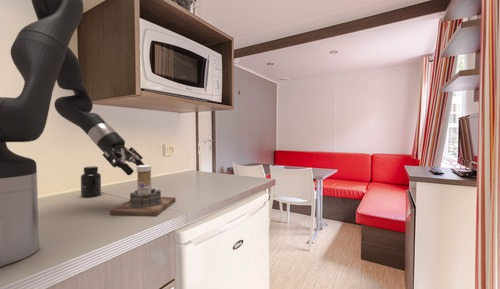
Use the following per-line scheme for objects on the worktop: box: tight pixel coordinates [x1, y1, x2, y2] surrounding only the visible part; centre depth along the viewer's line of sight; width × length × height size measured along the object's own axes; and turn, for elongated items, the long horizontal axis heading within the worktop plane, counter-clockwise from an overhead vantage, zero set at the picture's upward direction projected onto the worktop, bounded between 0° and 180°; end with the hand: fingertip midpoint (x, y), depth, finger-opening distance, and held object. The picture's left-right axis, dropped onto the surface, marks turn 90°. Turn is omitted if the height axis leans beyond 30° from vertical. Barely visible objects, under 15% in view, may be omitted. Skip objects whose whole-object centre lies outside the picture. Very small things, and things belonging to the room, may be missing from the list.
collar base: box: [109, 188, 176, 217], centre depth 78 cm, size 16×15×6 cm
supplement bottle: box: [80, 165, 102, 198], centre depth 92 cm, size 7×7×12 cm
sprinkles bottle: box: [136, 164, 152, 199], centre depth 77 cm, size 5×5×14 cm
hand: (138, 171), depth 77 cm, fingers open, 8 cm apart
